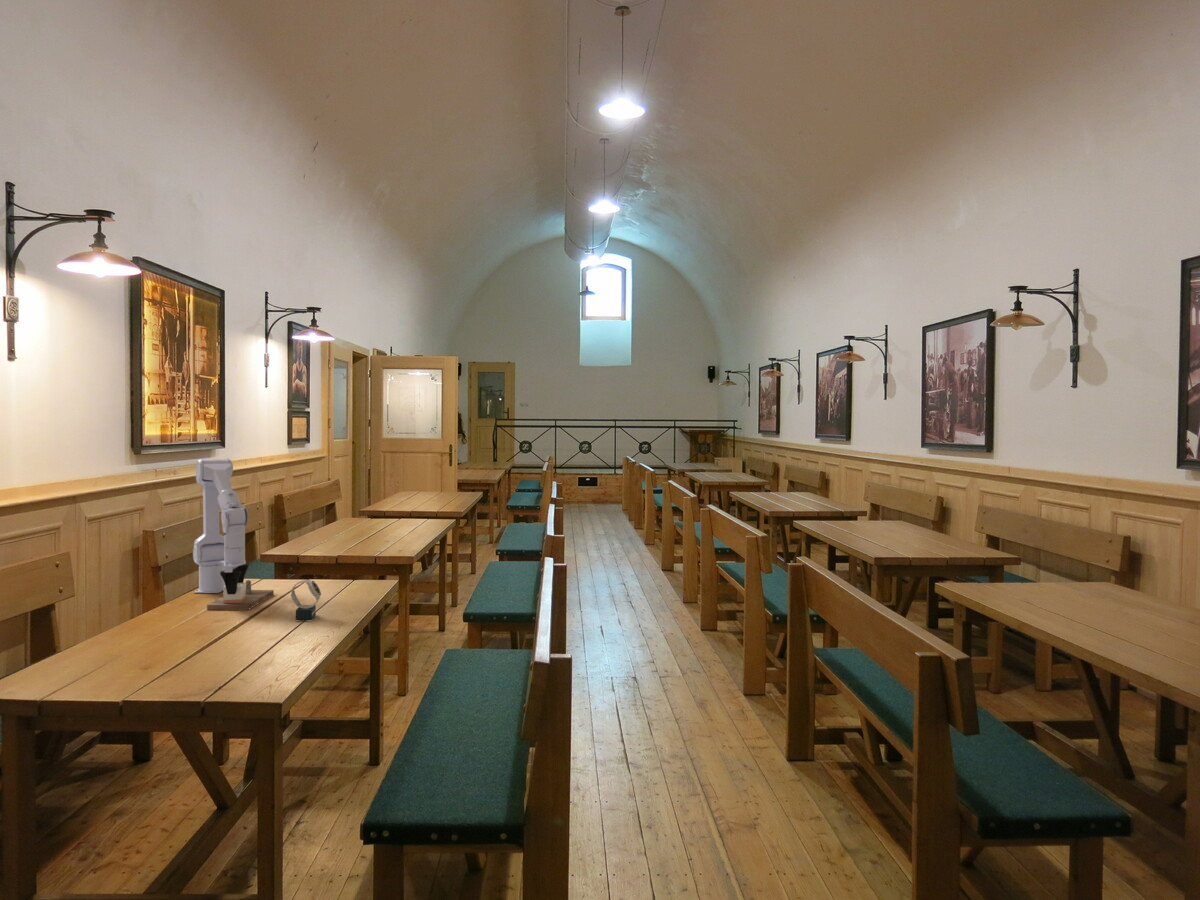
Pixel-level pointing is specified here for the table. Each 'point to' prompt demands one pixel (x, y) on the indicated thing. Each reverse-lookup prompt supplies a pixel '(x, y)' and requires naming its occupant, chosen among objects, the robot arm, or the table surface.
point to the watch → (306, 610)
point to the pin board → (250, 600)
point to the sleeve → (236, 597)
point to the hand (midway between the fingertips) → (234, 591)
